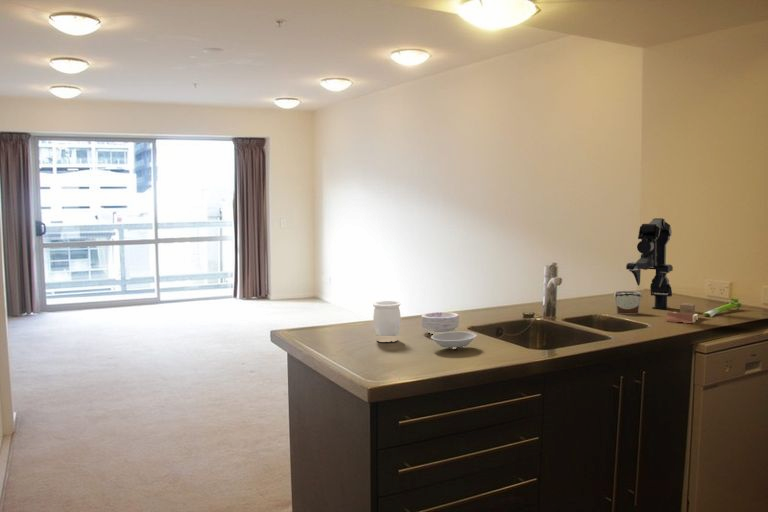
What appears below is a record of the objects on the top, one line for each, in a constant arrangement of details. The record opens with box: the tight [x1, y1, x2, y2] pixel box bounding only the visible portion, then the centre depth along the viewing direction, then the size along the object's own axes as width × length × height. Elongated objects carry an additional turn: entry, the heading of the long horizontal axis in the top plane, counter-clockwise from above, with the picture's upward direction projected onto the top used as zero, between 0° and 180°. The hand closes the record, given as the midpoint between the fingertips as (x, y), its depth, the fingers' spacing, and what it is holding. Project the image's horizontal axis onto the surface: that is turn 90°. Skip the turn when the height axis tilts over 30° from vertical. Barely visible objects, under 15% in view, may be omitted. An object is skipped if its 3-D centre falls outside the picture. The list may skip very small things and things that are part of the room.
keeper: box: [679, 302, 696, 315], centre depth 273 cm, size 5×5×6 cm
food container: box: [613, 290, 643, 315], centre depth 287 cm, size 12×6×10 cm, turn 84°
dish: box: [430, 331, 478, 349], centre depth 223 cm, size 18×14×5 cm
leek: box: [702, 298, 743, 318], centre depth 282 cm, size 6×7×30 cm
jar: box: [372, 300, 402, 336], centre depth 238 cm, size 11×10×15 cm
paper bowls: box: [421, 311, 460, 332], centre depth 250 cm, size 15×15×8 cm
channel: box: [666, 311, 699, 324], centre depth 266 cm, size 11×10×4 cm
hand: (648, 286), depth 275 cm, fingers open, 9 cm apart
